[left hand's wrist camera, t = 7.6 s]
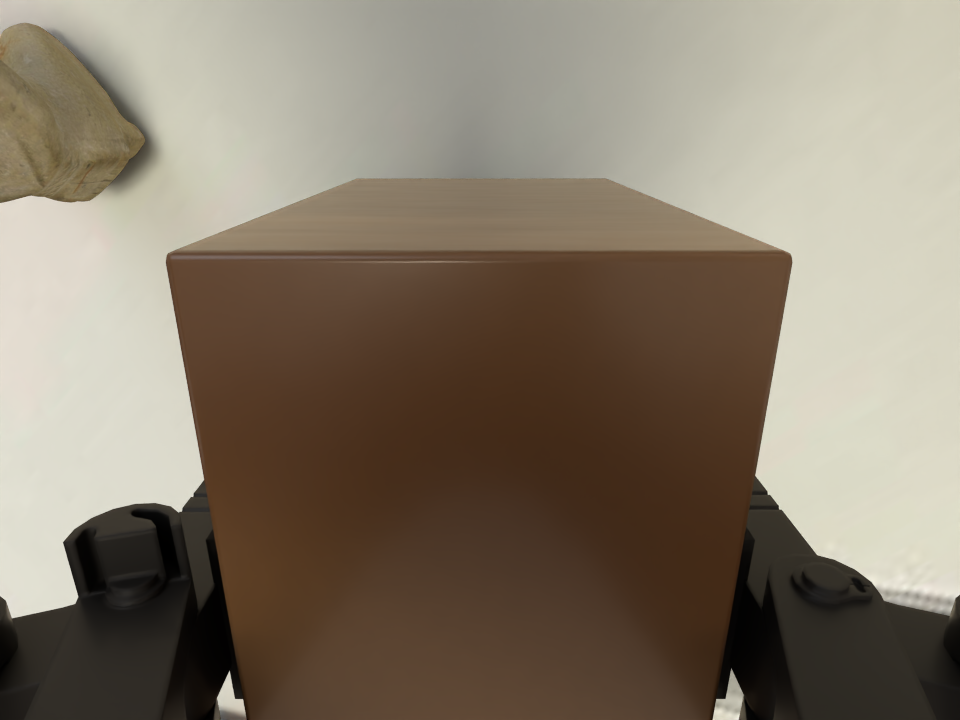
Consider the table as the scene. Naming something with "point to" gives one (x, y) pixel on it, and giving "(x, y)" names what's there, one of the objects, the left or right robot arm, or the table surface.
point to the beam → (479, 446)
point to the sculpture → (56, 122)
